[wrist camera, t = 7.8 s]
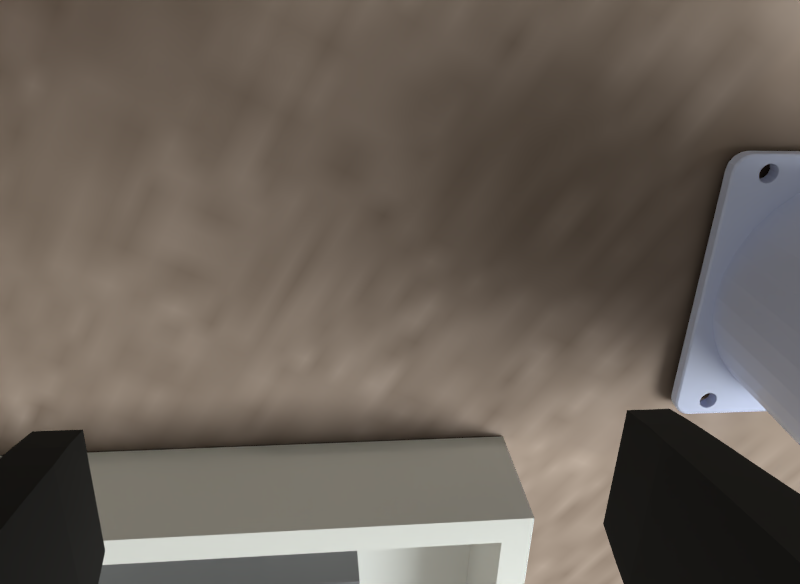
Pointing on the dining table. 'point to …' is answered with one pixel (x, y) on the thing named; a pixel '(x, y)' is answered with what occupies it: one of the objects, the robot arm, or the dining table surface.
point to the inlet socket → (241, 570)
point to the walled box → (323, 507)
